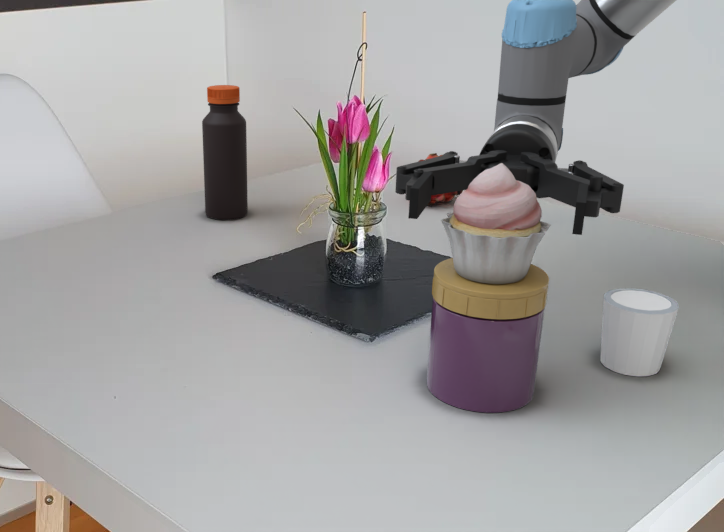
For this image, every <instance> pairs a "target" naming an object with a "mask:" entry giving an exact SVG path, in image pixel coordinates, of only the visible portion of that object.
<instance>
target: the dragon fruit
mask: <svg viewBox="0 0 724 532" xmlns="http://www.w3.org/2000/svg"><path fill="white" fill-rule="evenodd" d="M442 155H443V154H439V155H438V153H437V152H433V153H429V154H428V155H427V157H426V158H425V159H419V160H418V161H417V162H419V161H423V160H427V159H431V158H435V157H439V156H442ZM463 191H464V190H462V191H456V192H450V193H444V194H438V195H432V196H431V201H430V202H429V204H428V205H427V206H431V205H434V204H435V203H436V202H440V203H443V202H444V203H449V202H451V201H452V200H453V199H454V198H455V197H456V196H459V195H460V194H461V193H462V192H463Z"/></svg>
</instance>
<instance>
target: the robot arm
mask: <svg viewBox="0 0 724 532" xmlns="http://www.w3.org/2000/svg"><path fill="white" fill-rule="evenodd" d="M676 1H677V0H580V1H579V2H577V4H576V2H575V1H574V0H511V1H510V2H509V3H508V4H507V7H506V10H505V16H504V17H505V19H504V23H503V24H504V25H503V29H502V30H501V50H500V63H499V64H500V65H499V76H498V89H497V99H496V105H495V106H496V107H495V108H496V109H495V116H494V128H493V132H492V133H491V135H490V136H489V137H488V139H487V141H486V142H485V144H484V145H483V146H482V148H481V150H480V152H479V154H478V155H471V156H469V157H468V158H467V160H462V159H461V157H460V155H458V152H456V151H453V150H450V151H446V152H445V153H443V154H441V155H442V156H440V155H438V156H439V157H435V158H431V159H427V160H425V159H422V160H423V161H419V160H418V161H419V162H418V161H415V162H412V163H411V162H410V163H407V164H403V165H399V166H397V167H396V173H395V191H394V192H395V193H396V194H398V195H405V197H404V199H405V201H408V203H409V204H408V219H410V220H411V219H413V220H418V219H419V217H420V216H421V215H422V213H423V212H424V211H425V209H426V208H427V207H428V206H429V205H428V204H429V202H430V201H431V196H432V195H438V194H444V193H450V192H456V191H462V190H463V191H465V190H467V189H468V186H469V185H470V183H471V182H472V181H473V180H474V179H475V178H476V177H477V176H478V175H479V174H480V173H482V172H483V171H485V170H486V169H490V168H492V167H494V166H497V165H498V164H500V163H503V164H504V165H505V166H506V167H507V168H508V169H509V170H510V172H511V173H512V174H513V176H514V178H515V180H517V181H521V182H523V183H525V184H527V185H529V186H530V187H531V189H532V190H533V191H534V192H535V194H536V198H537V199H546V198H550V199H553V200H555V201H558V202H560V203H563V204H566V205H568V206H571V207H573V208H574V209H575V211H574V217H573V224H572V225H573V226H572V233H571V234H572V235H579V236H582V235H583V230H584V221H585V217H586V218H598V217H599V215H600V210H603V211H605V212H608V213H610V214H618V213H620V212H621V208H622V207H621V206H622V201H623V194H624V187H625V184H623V183H621V182H620V181H617V180H615V179H614V178H611V177H609V176H607V175H606V174H604V173H602V172H600V171H598V170H596V169H593V168H592V167H591V166H590V167H589V165H588V163H587V162H586V161H583V160H574V161H573V163H569V164H568V168H566V167H558V164H557V163H556V162H557V156H558V155H559V151H560V150H561V148H562V144H563V136H564V128H563V126H564V124H563V123H564V117H565V109H566V100H567V92H568V85H569V79H570V78H571V79H572V78H575V77H580V76H586V75H587V76H588V75H593V74H596V73H599V72H600V71H603V70H604V69H605V68H607V67H609V66H610V65H612V64H613V63H614V62H615V61H616V60H617V59H618V58H619V57H620V55H621V53H622V52H623V50H624V47H625V46H626V45H627V44H628V43H629V42H630V41H631V40H632V39H634V38H635V37H636V36H638V34H639V33H640V32H641V31H642V30H644V29H645V28H646V27H648V25H650V24H651V23H652V22H654V20H656V19H657V18H658V17H659V16H660V15H661V14H663V13H664V11H666V10H668V8H670V6H672V5H673V4H674V3H675V2H676Z"/></svg>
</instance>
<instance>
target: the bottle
mask: <svg viewBox="0 0 724 532" xmlns="http://www.w3.org/2000/svg"><path fill="white" fill-rule="evenodd" d="M240 91H241V90H240V87H239V86H238V85H233V84H232V85H231V84H217V85H216V84H215V85H209V86H207V87H206V96H207V97H206V98H207V100H206V101H207V106H209V112H208V113H207V114H206V115H205V117H204V118H203V119H202V121H201V129H202V155H203V158H202V160H203V183H204V184H203V187H204V212H205V216H207V217H208V218H210V219H212V220H219V221H231V220H232V221H233V220H238V219H239V220H240V219H242V218H244V217H246V216H247V214H248V211H249V210H248V209H249V207H248V203H249V202H248V153H247V152H248V151H247V150H248V149H247V147H248V146H247V143H248V142H247V120H246V119H245V118H246V117H244V116H243V114H241V113H240V111H239V107H238V106H240V102H241V96H240V93H241V92H240Z"/></svg>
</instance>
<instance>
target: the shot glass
mask: <svg viewBox="0 0 724 532" xmlns="http://www.w3.org/2000/svg"><path fill="white" fill-rule="evenodd" d="M602 307H603V308H602V321H601V322H602V324H601V338H600V339H601V342H600V363H601V364H602V365H603V366H604V367H605V368H606V369H608V370H610V371H611V372H614V373H618V374H621V375H625V376H631V377H650V376H653V375H657V373H658V372H659V371H660V370H661V367H662V365H663V360H664V358H665V355H666V351H667V348H668V345H669V342H670V338H671V335H672V331H673V328H674V325H675V321H676V318H677V315H678V312H679V309H680V305H679V303H678V301H677V300H675V299H674V298H673V297H671V296H669V295H666V294H664V293H662V292H658V291H654V290H650V289H647V288H635V287H619V288H614V289H610V290H608V291H606V292H605V293H604V294H603V306H602Z"/></svg>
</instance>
